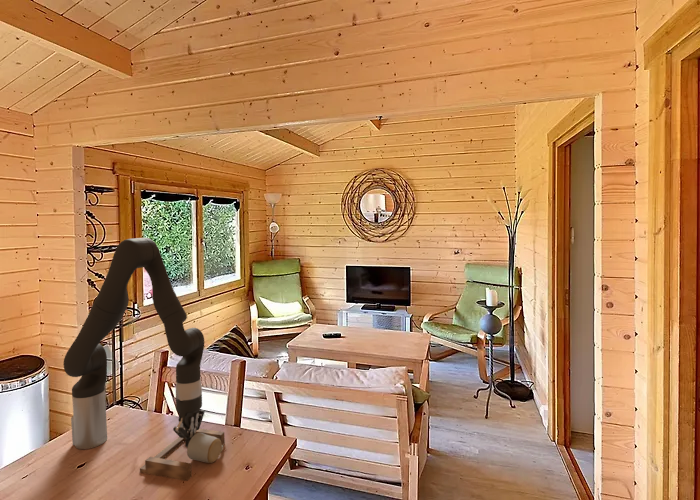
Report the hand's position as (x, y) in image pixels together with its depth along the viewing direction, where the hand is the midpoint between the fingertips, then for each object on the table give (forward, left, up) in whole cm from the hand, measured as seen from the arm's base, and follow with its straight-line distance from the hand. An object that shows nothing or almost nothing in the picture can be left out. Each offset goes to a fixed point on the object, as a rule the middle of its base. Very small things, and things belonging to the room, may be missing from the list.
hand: (190, 447), depth 129 cm
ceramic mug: (+5, +2, -4) cm, 6 cm away
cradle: (-1, 0, -4) cm, 4 cm away
